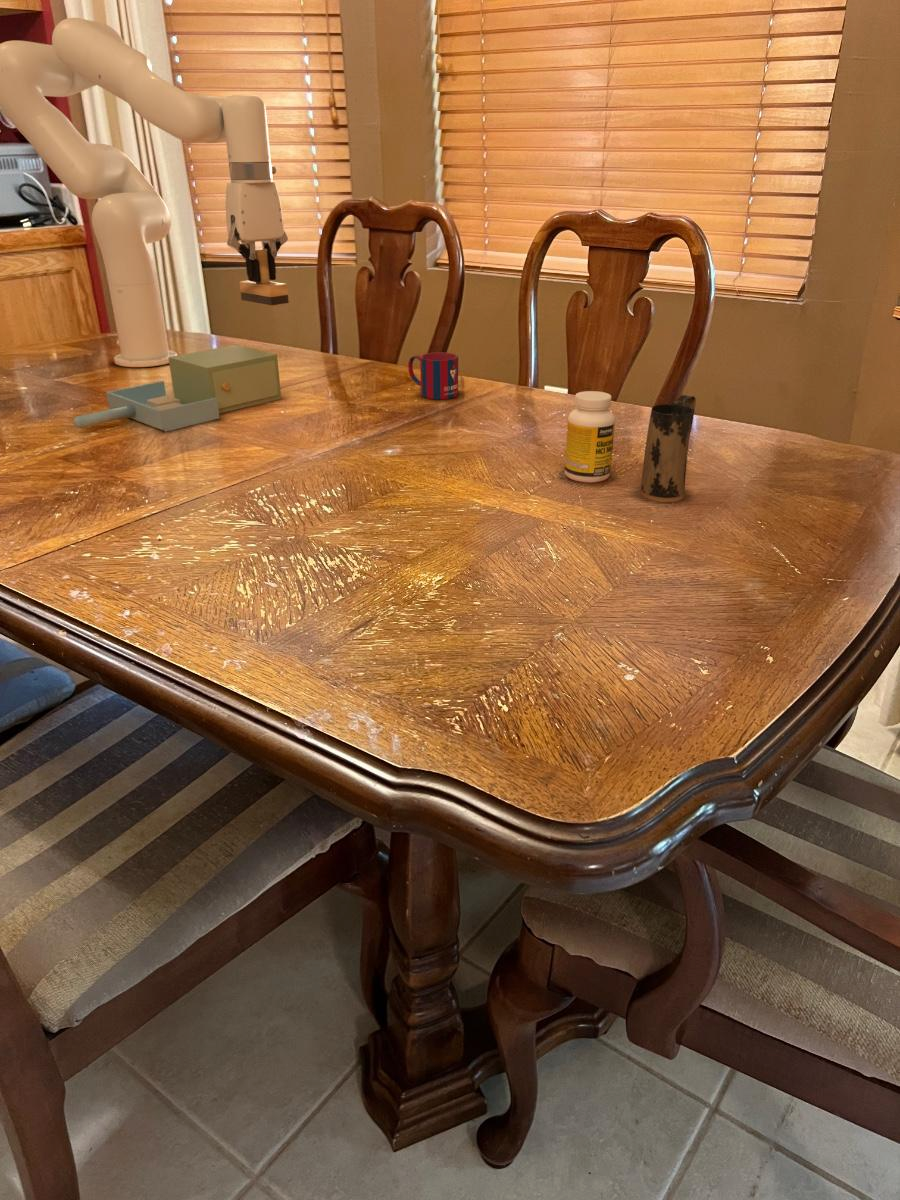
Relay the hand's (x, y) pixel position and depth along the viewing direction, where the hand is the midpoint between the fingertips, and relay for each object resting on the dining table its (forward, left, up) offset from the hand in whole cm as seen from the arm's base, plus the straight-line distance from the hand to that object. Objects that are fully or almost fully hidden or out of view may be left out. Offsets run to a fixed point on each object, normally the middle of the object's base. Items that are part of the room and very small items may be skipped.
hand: (262, 279), depth 165 cm
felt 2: (+17, -33, -15) cm, 40 cm away
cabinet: (+15, -20, -17) cm, 30 cm away
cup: (+38, +8, -17) cm, 42 cm away
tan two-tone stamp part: (0, 0, -4) cm, 4 cm away
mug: (+95, -7, -17) cm, 97 cm away
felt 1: (+12, -31, -15) cm, 37 cm away
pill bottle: (+84, -9, -17) cm, 86 cm away
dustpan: (+15, -38, -17) cm, 44 cm away
